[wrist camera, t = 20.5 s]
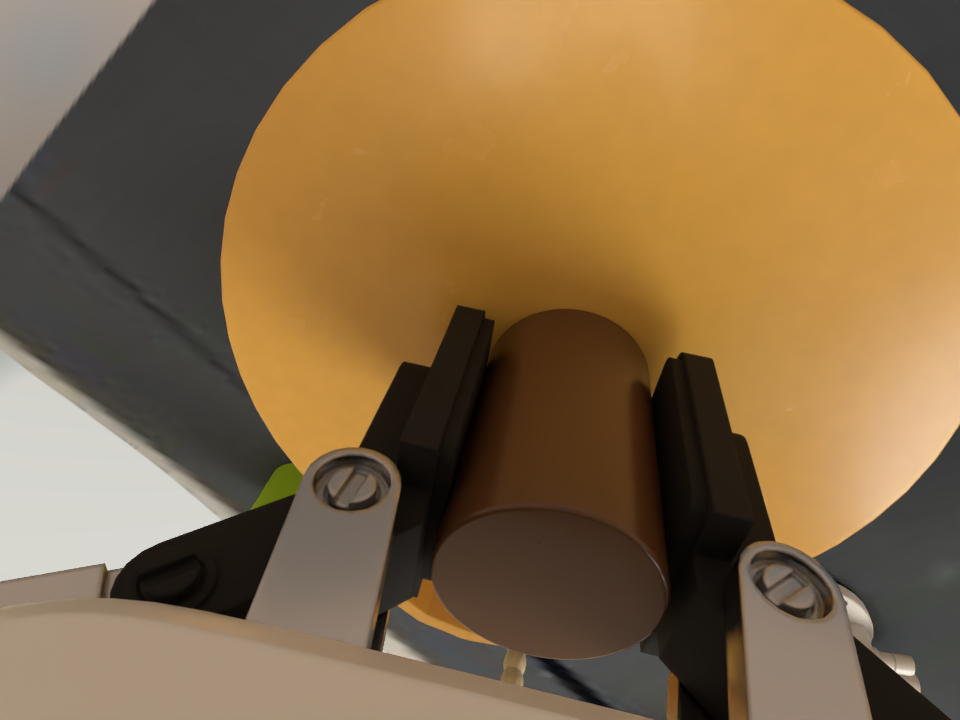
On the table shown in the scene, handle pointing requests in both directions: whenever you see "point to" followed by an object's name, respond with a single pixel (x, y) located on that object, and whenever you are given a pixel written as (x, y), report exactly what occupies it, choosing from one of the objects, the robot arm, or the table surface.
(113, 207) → the table surface
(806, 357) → the tin lid
